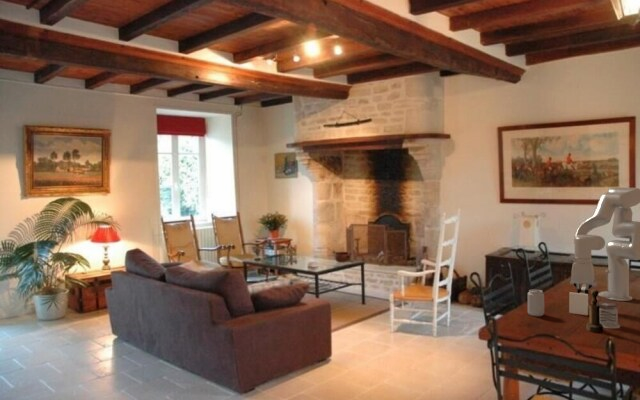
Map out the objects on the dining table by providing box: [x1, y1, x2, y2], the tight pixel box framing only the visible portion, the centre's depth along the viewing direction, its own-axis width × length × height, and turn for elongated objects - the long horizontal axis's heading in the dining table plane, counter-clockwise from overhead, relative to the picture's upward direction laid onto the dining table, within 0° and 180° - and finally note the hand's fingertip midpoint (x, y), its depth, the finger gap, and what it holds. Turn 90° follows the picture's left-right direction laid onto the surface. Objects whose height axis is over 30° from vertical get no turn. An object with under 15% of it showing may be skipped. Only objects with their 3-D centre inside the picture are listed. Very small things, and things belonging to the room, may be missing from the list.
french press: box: [590, 269, 621, 329], centre depth 228 cm, size 10×12×25 cm
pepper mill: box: [585, 288, 604, 333], centre depth 221 cm, size 7×6×18 cm
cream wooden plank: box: [580, 284, 586, 294], centre depth 258 cm, size 16×2×4 cm, turn 144°
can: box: [527, 289, 545, 317], centre depth 247 cm, size 8×8×12 cm
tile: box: [568, 291, 589, 316], centre depth 247 cm, size 2×8×10 cm, turn 55°
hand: (582, 296), depth 258 cm, fingers closed on cream wooden plank, 2 cm apart
